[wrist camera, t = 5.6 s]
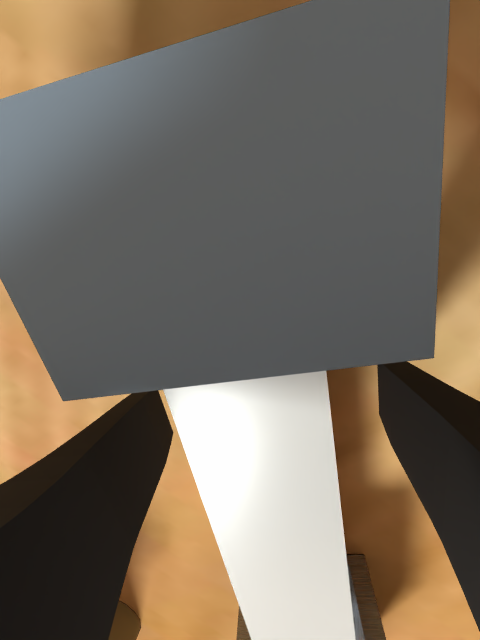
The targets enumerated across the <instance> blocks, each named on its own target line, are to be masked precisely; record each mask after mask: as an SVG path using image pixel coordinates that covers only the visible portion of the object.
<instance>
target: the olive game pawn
mask: <svg viewBox="0 0 480 640" xmlns="http://www.w3.org/2000/svg"><path fill="white" fill-rule="evenodd" d="M140 629H141V625H140V620H139V618H138V617H137V615H136V614H135V612H134V611H133V610H131V609H130V608H129V607H128V606H127V605H125V604H124V603H122V602H120V601H118V605H117V609H116V613H115V616H114V620H113V624H112V628H111V632H110V636H109V640H136V639H137V636H138V634H139V631H140Z"/></svg>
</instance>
